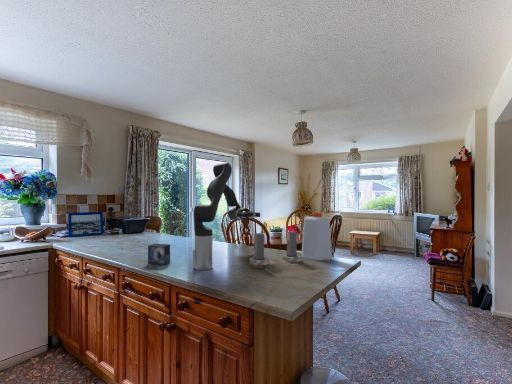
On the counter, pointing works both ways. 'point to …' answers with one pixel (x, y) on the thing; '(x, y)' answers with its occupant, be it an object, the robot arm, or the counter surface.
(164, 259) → the small box
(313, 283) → the counter surface
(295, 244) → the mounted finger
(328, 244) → the grey bottle
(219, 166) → the robot arm
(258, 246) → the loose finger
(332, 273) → the counter surface
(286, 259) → the wooden base with sockets
